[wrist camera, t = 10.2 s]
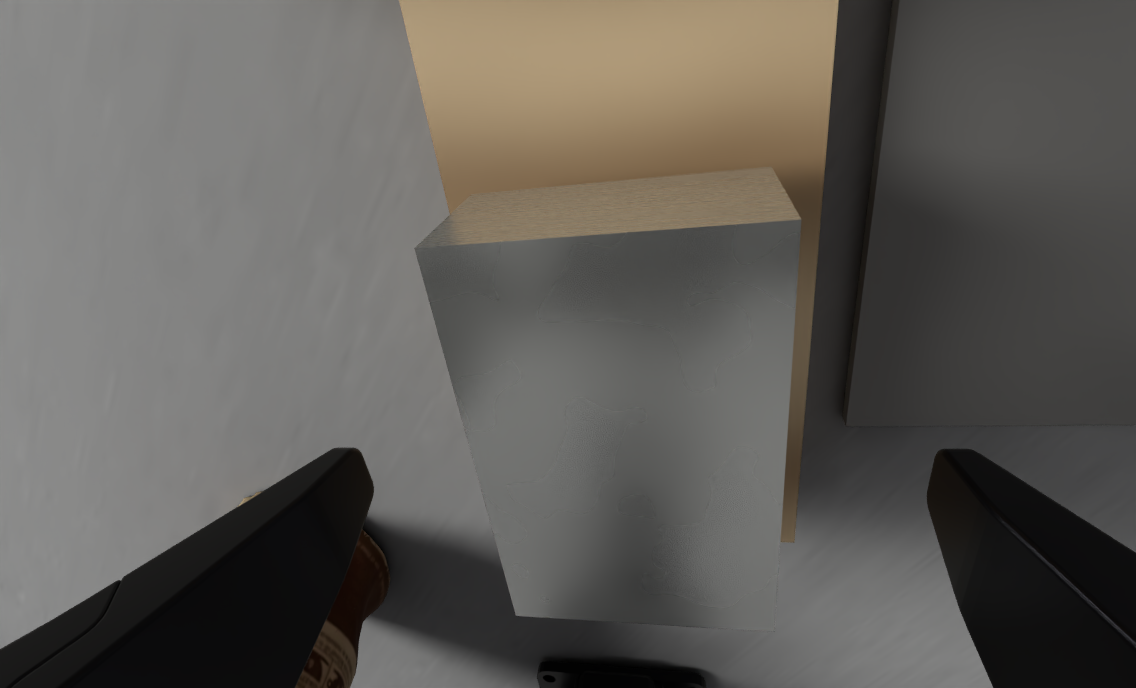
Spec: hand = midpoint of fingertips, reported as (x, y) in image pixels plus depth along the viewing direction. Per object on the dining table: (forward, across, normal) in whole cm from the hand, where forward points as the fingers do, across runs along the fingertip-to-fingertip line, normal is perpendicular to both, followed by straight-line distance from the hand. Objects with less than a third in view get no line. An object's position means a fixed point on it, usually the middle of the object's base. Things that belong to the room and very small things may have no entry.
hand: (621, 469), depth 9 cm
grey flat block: (+2, 0, 0) cm, 2 cm away
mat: (+6, -9, -1) cm, 11 cm away
